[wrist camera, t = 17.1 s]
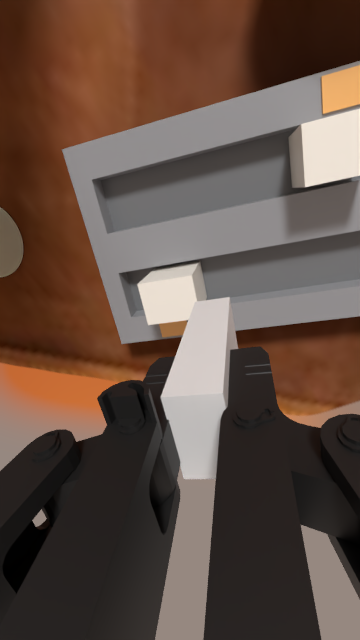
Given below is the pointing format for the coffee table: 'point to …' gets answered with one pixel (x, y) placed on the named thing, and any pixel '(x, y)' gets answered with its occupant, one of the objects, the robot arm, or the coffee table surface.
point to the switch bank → (225, 209)
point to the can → (9, 245)
